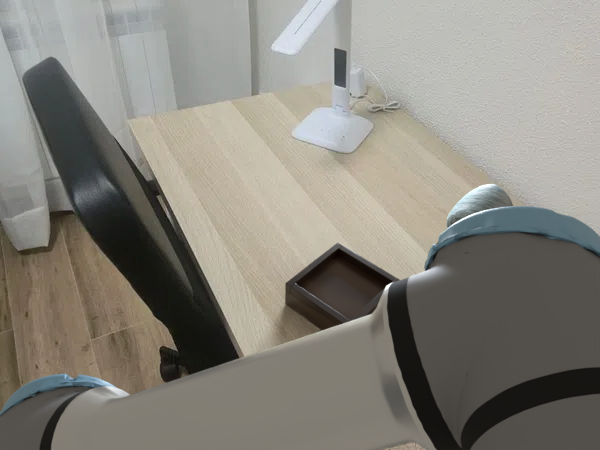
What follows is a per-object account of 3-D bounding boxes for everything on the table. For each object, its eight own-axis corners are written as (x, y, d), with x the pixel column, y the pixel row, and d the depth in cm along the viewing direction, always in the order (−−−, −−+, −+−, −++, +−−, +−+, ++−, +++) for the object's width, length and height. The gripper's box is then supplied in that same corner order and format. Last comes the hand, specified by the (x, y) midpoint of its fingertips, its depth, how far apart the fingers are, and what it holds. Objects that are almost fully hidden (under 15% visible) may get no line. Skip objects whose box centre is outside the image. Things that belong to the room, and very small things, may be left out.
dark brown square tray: (348, 349, 76) (351, 328, 73) (284, 303, 82) (285, 283, 79) (397, 301, 83) (402, 280, 80) (335, 262, 89) (337, 242, 86)
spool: (489, 259, 85) (485, 196, 83) (436, 254, 92) (431, 195, 90) (527, 237, 95) (524, 180, 93) (476, 234, 101) (472, 181, 99)
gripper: (629, 596, 53) (437, 450, 63) (696, 420, 67) (530, 325, 77) (666, 568, 48) (451, 415, 58) (729, 385, 62) (548, 288, 73)
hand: (496, 363), depth 68 cm, fingers open, 13 cm apart
